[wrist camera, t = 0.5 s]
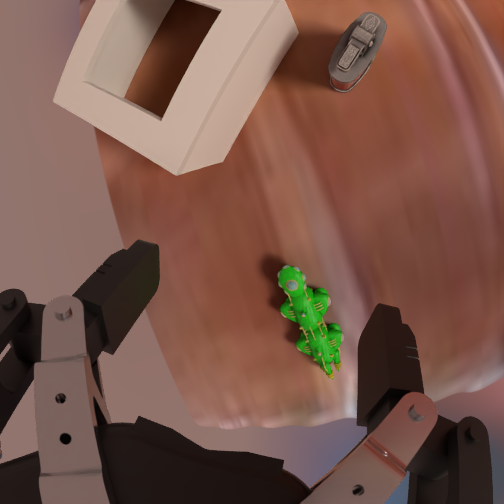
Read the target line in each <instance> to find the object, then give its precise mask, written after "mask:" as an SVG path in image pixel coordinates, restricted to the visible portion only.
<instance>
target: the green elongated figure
mask: <svg viewBox="0 0 504 504" xmlns="http://www.w3.org/2000/svg"><path fill="white" fill-rule="evenodd" d="M277 276H278V281H279V282H278V285H279V286H280V287H281V288H283V289H284V292H285V294H287V295H288V296H289V297H288V298H287V299H286V302H285V303H283V304H282V305H281V307H280V311H281V315H282V316H283V317H285V318H288V319H290V320H292V321H294V322H296V323H299V325H300V328H299V329H300V330H301V329H302V330H303V332H302V333H301V335H300V336H301V338H300V339H298V340H297V342H296V347H297V349H298V350H299V351H302V352H304V353H305V354H308V355H310V356H312V355H313V357H314V359H313V361H316V362H317V363H318V364H319V365H320V368H321V369H322V370H323V371H324V372H325V373H326V375H327V376H328V377H329V378H331V379H333V377H334V375H333V370H331V366H330V363H331V362H332V361H333V360H334V365H335V368H336V369H337V370H338V371H339V369H340V367H341V366H340V365H341V361H340V351H339V349H340V348H339V346H340V344H341V342H342V341H343V340H344V335H343V334H342V331H340V326H339V325H338V324H335V323H332V324H330V325H329V326H328V329H327V325H325V323H324V321H322V320H323V318H322V315H324V314H325V313H326V311H327V308H328V306H329V305H330V304H331V299H330V298H329V295H328V294H327V291H326V290H325V289H323V288H317V289H316V290H315V291H314V293H313V289H312V288H311V289H310V288H309V287H308V286H306V284H305V280H306V277H305V275H304V274H303V273H302V272H301V271H300V269H299V268H298V267H293V266H289V265H285V266H283V268H282V269H281V270H280V271H279V272H278V275H277ZM322 323H324V324H322Z"/></svg>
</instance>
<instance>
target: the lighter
mask: <svg viewBox="0 0 504 504" xmlns="http://www.w3.org/2000/svg"><path fill="white" fill-rule="evenodd" d="M386 29H387V25H386V22H385V20H384V19H383V18H382V17H381V16H379V15H378V14H376V13H372V12H365V13H363V14H361V15H360V16H359V17H358V18H357V19H356V20H355V21H354V22H353V23H352V24H351V25H350V26H349V27H348V28H347V30H346V31H345V32H344V34H343V35H342V36H341V38H340V40H339V42H338V43H337V45H336V47H335V49H334V51H333V54H332V57H331V59H330V62H329V65H328V70H329V73H330V75H331V76H330V83H331V86H332V87H333V88H334V89H335V90H336V91H338V92H342V93H346V92H349V91H350V90H351V89H352V88H353V87H354V86H355V85H356V84H357V83H358V82H359V81H360V80H361V79H362V78H363V76H364V75H365V74H366V72H367V71H368V69H369V67H370V65H371V63H372V62H373V60H374V57H375V55H376V53H377V51H378V49H379V47H380V45H381V43H382V41H383V38H384V35H385V32H386Z"/></svg>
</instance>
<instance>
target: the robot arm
mask: <svg viewBox="0 0 504 504" xmlns="http://www.w3.org/2000/svg"><path fill="white" fill-rule="evenodd" d="M159 280H160V268H159V246H158V245H157V244H154V243H150V242H147V241H143V240H137V241H136V242H135V243H134V244H133V245H132V246H131V247H130V248H129V249H128V250H125V249H122V250H120V251H118V252H116V253H114V254H112V255H111V256H110V257H109V258H108V259H107V260H106V261H105V262H104V263H103V265H101V266H100V267H99V268H98V269H97V270H96V272H94V273H93V274H92V275H91V276H90V277H89V278H88V279H87V280H86V282H84V283H83V285H81V287H80V288H79V289H78V290H77V291H76V292H75V293H74V294H73V295H72V296H60V297H56V298H54V299H53V300H51V301H50V302H49V303H48V304H47V305H43V304H35V303H28V301H27V299H26V296H25V294H24V292H23V291H21V290H19V289H9V290H6V291H3V292H1V293H0V354H1V352H2V351H3V350H4V348H5V347H6V346H7V344H8V343H9V344H10V346H11V348H10V349H9V351H8V352H7V353H6V355H5V356H4V357H3V359H2V360H1V362H0V434H1V433H2V431H3V429H4V427H5V425H6V424H7V422H8V420H9V419H10V417H11V415H12V413H13V412H14V410H15V408H16V407H17V405H18V403H19V402H20V400H21V399H22V397H23V395H24V394H25V392H26V390H27V389H28V387H29V386H30V384H31V383H32V381H33V380H34V396H35V397H34V398H35V418H36V430H37V441H38V450H39V451H36V452H33V453H30V454H28V455H25V456H22V457H19V458H16V459H13V460H11V461H7V462H5V463H1V464H0V504H384V503H385V501H386V500H387V499H388V498H389V497H390V495H391V494H392V493H393V492H394V490H395V489H396V488H397V487H398V485H399V484H400V483H401V482H402V480H403V479H404V477H405V476H406V473H407V471H410V476H409V490H408V502H407V504H493V486H492V467H491V457H490V456H491V455H490V445H489V437H488V432H487V429H486V427H485V425H484V424H483V423H482V422H481V421H480V420H479V419H477V418H475V417H471V416H469V417H465V418H463V419H462V420H461V421H460V422H458V423H455V422H453V421H451V420H448V419H446V418H444V417H442V416H440V415H438V413H437V409H436V406H435V404H434V402H433V401H432V400H431V399H430V398H429V397H428V396H426V395H424V388H423V381H422V375H421V368H420V362H419V360H418V358H419V356H418V351H417V350H416V349H417V345H416V340H415V336H414V334H413V332H412V331H411V329H410V327H409V326H408V325H407V324H402V320H401V315H400V310H399V308H397V307H393V306H389V305H385V304H380V303H379V304H378V305H377V306H376V307H375V309H374V311H373V313H372V315H371V317H370V319H369V321H368V322H367V324H366V326H365V328H364V330H363V332H362V334H361V336H360V339H359V343H358V400H357V425H358V426H365V427H367V434H366V436H365V437H363V439H361V441H360V442H359V443H358V444H357V445H356V446H355V447H354V448H353V449H352V450H351V451H350V452H349V453H348V454H347V455H346V456H345V457H344V458H343V459H342V460H341V461H340V462H338V463H337V464H336V465H335V466H334V467H333V468H332V469H331V470H330V471H329V472H328V473H327V474H325V475H324V476H323V477H322V478H321V479H319V480H318V481H317V482H316V483H315V484H314V485H313V486H311V487H310V488H309V487H308V486H307V485H306V484H305V483H304V482H303V481H301V480H300V479H299V478H298V477H296V476H295V475H293V474H292V473H290V472H288V471H286V470H284V469H282V468H283V463H284V460H281V459H276V458H272V457H267V456H262V455H258V454H254V453H250V452H236V451H217V450H207V449H204V448H202V447H201V446H199V445H197V444H196V443H194V442H192V441H191V440H189V439H187V438H186V437H184V436H183V435H181V434H180V433H178V432H176V431H175V430H173V429H171V428H169V427H166V426H163V425H161V424H158V423H155V422H153V421H151V420H148V419H146V418H143V417H141V416H138V418H137V420H136V422H135V424H134V423H112V422H111V419H110V415H109V412H108V409H107V405H106V401H105V395H104V389H103V384H102V378H101V372H100V364H99V360H98V357H99V355H100V354H101V352H102V351H104V352H107V353H109V354H111V355H113V354H114V353H115V351H116V350H117V348H118V347H119V345H120V343H121V342H122V341H123V339H124V338H125V336H126V335H127V333H128V332H129V330H130V329H131V327H132V326H133V324H134V323H135V322H136V320H137V319H138V317H139V316H140V314H141V313H142V311H143V310H144V309H145V307H146V306H147V304H148V303H149V302H150V300H151V299H152V297H153V296H154V294H155V293H156V291H157V288H158V285H159ZM0 448H1V443H0ZM1 457H2V451H1V449H0V459H1ZM406 470H407V471H406Z"/></svg>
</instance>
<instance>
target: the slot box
mask: <svg viewBox="0 0 504 504" xmlns="http://www.w3.org/2000/svg"><path fill="white" fill-rule="evenodd" d="M174 1H175V0H96V2H95V4H94V6H93V7H92V9H91V11H90V13H89V15H88V17H87V19H86V21H85V23H84V25H83V27H82V29H81V31H80V34H79V36H78V38H77V40H76V42H75V45H74V47H73V49H72V52H71V54H70V56H69V59H68V61H67V64H66V66H65V69H64V71H63V74H62V76H61V79H60V82H59V84H58V87H57V90H56V93H55V96H54V99H53V102H54V103H56V104H58V105H59V106H61V107H63V108H64V109H66V110H68V111H70V112H71V113H73V114H75V115H76V116H78V117H80V118H82V119H83V120H85V121H87V122H88V123H90V124H92V125H93V126H95V127H97V128H98V129H100V130H102V131H103V132H105V133H107V134H108V135H110V136H112V137H113V138H115V139H117V140H118V141H120V142H122V143H123V144H125V145H127V146H128V147H130V148H132V149H133V150H135V151H137V152H138V153H140V154H142V155H143V156H145V157H146V158H148V159H150V160H151V161H153V162H155V163H156V164H158V165H159V166H161V167H163V168H164V169H166V170H168V171H169V172H171V173H172V174H174V175H176V176H177V175H180V174H183V173H186V172H189V171H193V170H196V169H199V168H203V167H206V166H210V165H213V164H217V163H220V162H223V161H224V159H225V157H226V155H227V154H228V152H229V150H230V148H231V146H232V144H233V143H234V141H235V139H236V137H237V136H238V134H239V132H240V130H241V128H242V127H243V125H244V123H245V121H246V120H247V118H248V116H249V114H250V113H251V111H252V109H253V107H254V106H255V104H256V102H257V101H258V99H259V97H260V96H261V94H262V92H263V90H264V89H265V87H266V85H267V84H268V82H269V80H270V79H271V77H272V76H273V74H274V72H275V71H276V69H277V67H278V66H279V64H280V63H281V61H282V59H283V58H284V56H285V55H286V53H287V51H288V50H289V48H290V47H291V45H292V43H293V42H294V40H295V39H296V37H297V36H298V34H299V32H298V29H297V27H296V24H295V22H294V20H293V17H292V15H291V13H290V11H289V8H288V6H287V4H286V2H285V0H187V1H190V2H193V3H197V4H200V5H203V6H206V7H209V8H212V9H215V10H218V11H220V12H221V13H220V14H219V16H218V17H217V19H216V21H215V22H214V24H213V25H212V27H211V29H210V30H209V32H208V34H207V35H206V37H205V39H204V40H203V42H202V44H201V46H200V47H199V49H198V51H197V53H196V54H195V56H194V58H193V60H192V62H191V63H190V65H189V67H188V69H187V71H186V73H185V75H184V76H183V78H182V80H181V82H180V84H179V86H178V88H177V90H176V92H175V94H174V96H173V98H172V100H171V102H170V104H169V106H168V108H167V110H166V112H165V114H164V116H163V118H161V117H159V116H158V115H156V114H154V113H152V112H150V111H148V110H146V109H144V108H142V107H141V106H139V105H137V104H135V103H133V102H131V101H129V100H127V99H125V98H124V97H125V94H126V92H127V90H128V88H129V85H130V83H131V81H132V79H133V77H134V75H135V73H136V70H137V68H138V66H139V64H140V62H141V60H142V58H143V56H144V54H145V52H146V50H147V48H148V47H149V45H150V43H151V41H152V39H153V37H154V35H155V34H156V32H157V30H158V28H159V26H160V25H161V23H162V21H163V19H164V18H165V16H166V14H167V13H168V11H169V9H170V8H171V6H172V4H173V3H174Z"/></svg>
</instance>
